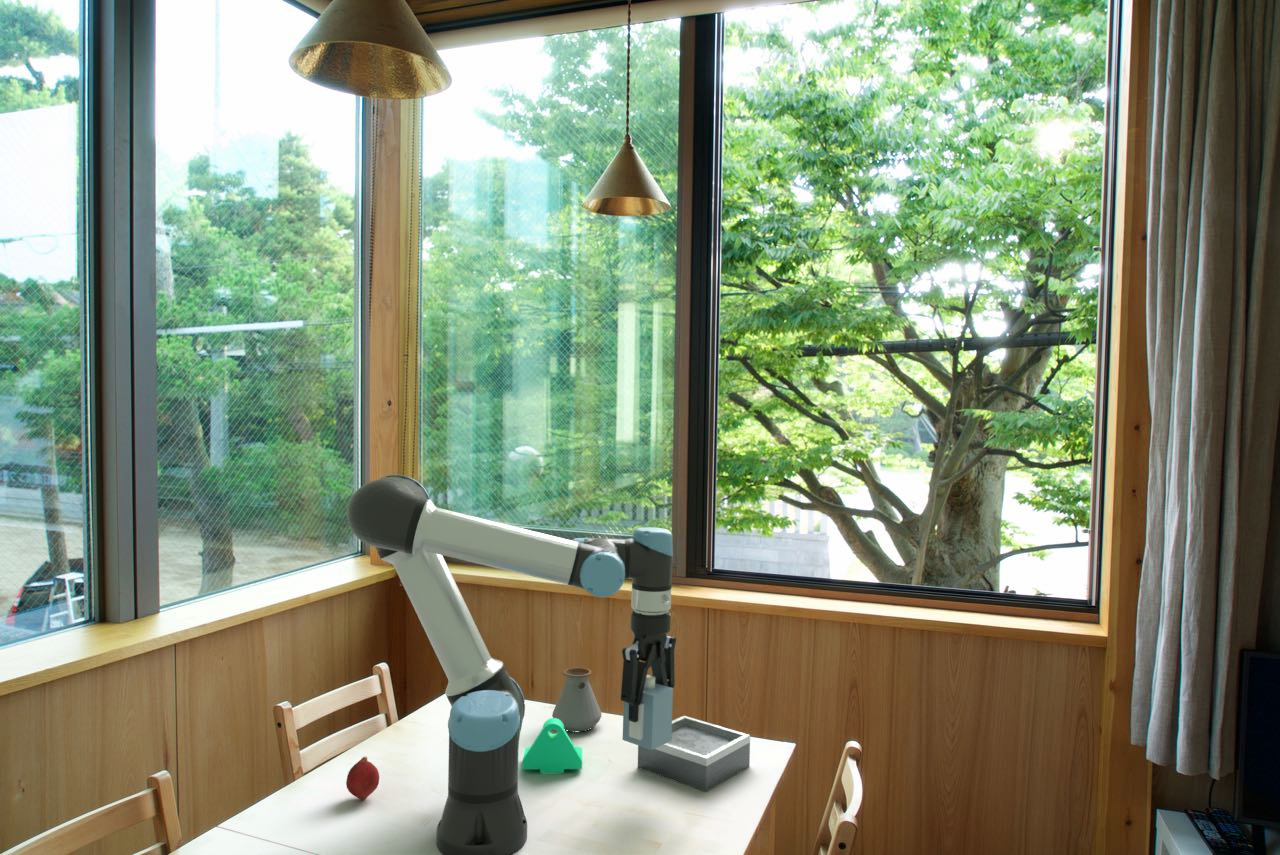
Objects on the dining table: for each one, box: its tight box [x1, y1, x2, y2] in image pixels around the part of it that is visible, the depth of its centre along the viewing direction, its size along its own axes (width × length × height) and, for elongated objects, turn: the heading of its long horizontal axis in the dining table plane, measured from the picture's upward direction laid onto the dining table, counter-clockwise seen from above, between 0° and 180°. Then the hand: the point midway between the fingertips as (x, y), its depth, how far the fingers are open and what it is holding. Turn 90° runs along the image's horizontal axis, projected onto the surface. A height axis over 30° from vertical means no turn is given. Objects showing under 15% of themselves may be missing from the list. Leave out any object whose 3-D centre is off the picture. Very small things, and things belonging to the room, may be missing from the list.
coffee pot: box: [551, 667, 602, 733], centre depth 188 cm, size 21×12×15 cm, turn 8°
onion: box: [345, 756, 380, 801], centre depth 154 cm, size 6×6×8 cm
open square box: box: [637, 715, 751, 793], centre depth 172 cm, size 16×17×6 cm
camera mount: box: [521, 717, 583, 774], centre depth 171 cm, size 12×8×10 cm, turn 93°
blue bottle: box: [622, 674, 674, 750], centre depth 156 cm, size 6×7×12 cm
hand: (647, 732), depth 156 cm, fingers closed on blue bottle, 6 cm apart
